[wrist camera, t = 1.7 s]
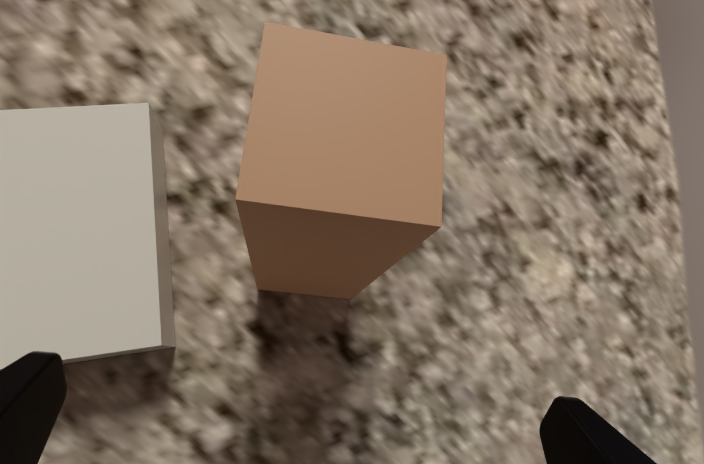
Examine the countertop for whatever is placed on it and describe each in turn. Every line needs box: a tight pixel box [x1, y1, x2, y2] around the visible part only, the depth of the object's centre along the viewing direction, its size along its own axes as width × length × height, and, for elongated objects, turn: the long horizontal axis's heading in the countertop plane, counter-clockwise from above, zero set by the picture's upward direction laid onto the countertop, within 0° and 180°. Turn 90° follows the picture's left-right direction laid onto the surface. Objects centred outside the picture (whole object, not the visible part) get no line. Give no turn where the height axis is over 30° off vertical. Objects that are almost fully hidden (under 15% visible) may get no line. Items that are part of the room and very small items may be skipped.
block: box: [235, 22, 447, 299], centre depth 15 cm, size 4×4×12 cm
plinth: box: [0, 103, 176, 370], centre depth 18 cm, size 10×10×2 cm
